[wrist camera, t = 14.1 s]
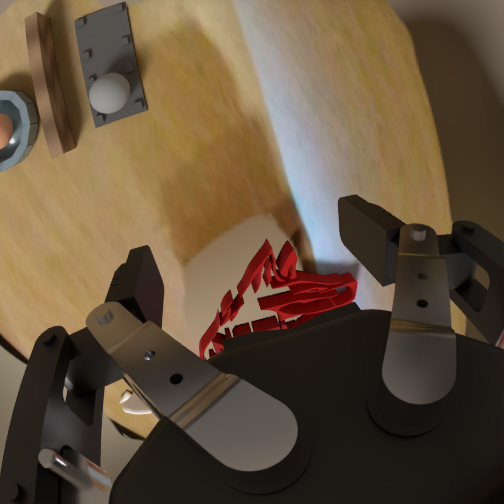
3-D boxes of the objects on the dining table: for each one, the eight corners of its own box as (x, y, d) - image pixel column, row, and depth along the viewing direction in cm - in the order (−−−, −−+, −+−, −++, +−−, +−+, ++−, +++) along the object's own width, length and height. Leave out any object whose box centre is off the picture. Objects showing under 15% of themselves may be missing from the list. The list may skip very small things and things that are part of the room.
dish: (-24, 111, 25) (-34, 113, 23) (29, 77, 26) (20, 76, 24) (-7, 177, 31) (-16, 182, 29) (46, 149, 32) (38, 152, 29)
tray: (75, 21, 24) (72, 20, 24) (125, 2, 25) (124, 0, 24) (96, 127, 32) (94, 128, 32) (147, 110, 33) (146, 110, 32)
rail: (39, 24, 23) (24, 18, 19) (50, 18, 23) (36, 11, 19) (64, 152, 33) (51, 158, 29) (75, 147, 33) (63, 153, 29)
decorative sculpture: (208, 397, 56) (151, 278, 41) (206, 385, 58) (153, 266, 43) (352, 356, 58) (357, 225, 43) (346, 346, 61) (348, 217, 46)
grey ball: (92, 82, 29) (79, 80, 25) (129, 69, 30) (120, 64, 25) (100, 118, 32) (88, 120, 27) (137, 105, 32) (129, 105, 28)
